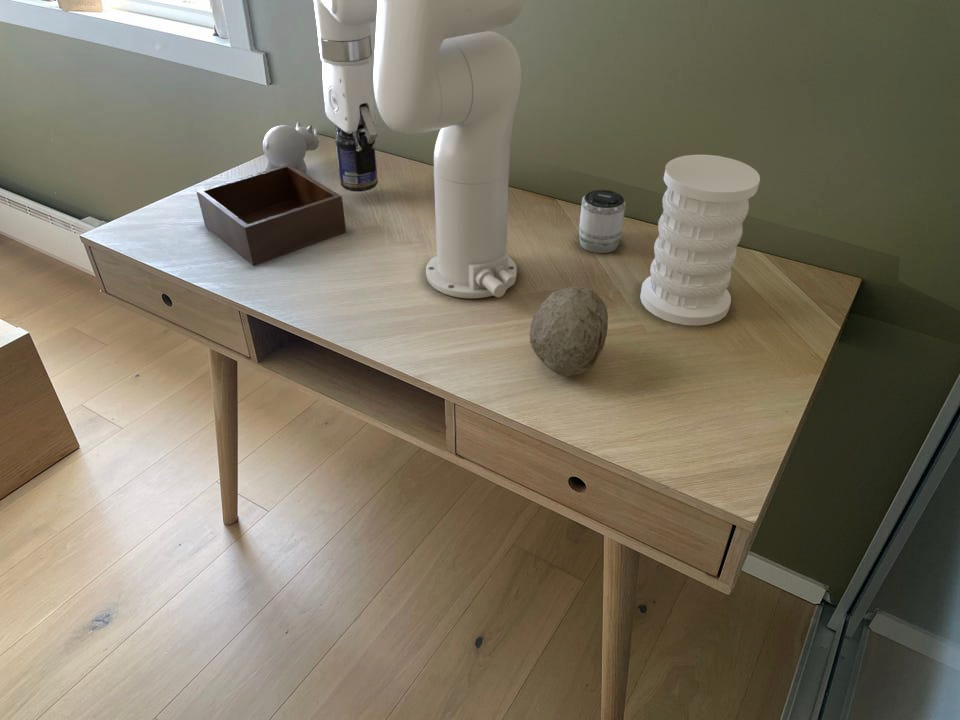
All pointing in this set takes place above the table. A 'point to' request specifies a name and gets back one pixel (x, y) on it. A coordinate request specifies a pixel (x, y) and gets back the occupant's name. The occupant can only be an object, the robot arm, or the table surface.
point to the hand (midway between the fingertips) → (357, 164)
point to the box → (272, 213)
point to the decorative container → (698, 238)
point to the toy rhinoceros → (289, 146)
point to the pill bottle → (352, 164)
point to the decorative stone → (570, 330)
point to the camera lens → (601, 221)
